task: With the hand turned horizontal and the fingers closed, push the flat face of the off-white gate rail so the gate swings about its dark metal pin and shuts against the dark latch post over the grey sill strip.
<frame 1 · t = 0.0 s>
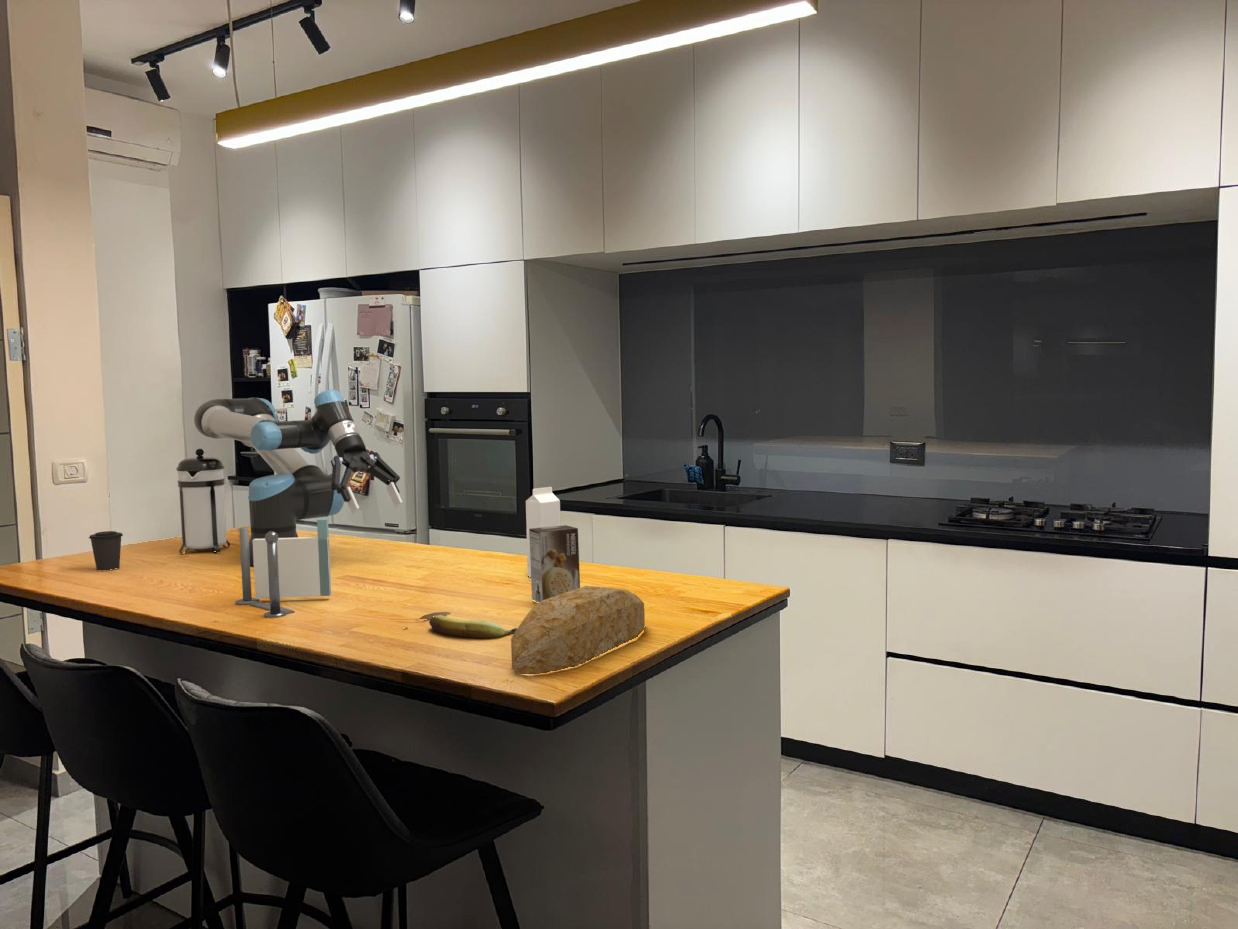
hand: (378, 508, 249), 15 cm above the countertop, tool tilted 35°, fingers open, 13 cm apart
milk: (544, 577, 232), on the countertop
gate: (285, 559, 210), point 9 cm above the countertop, hinge at 45.0°
sill: (247, 602, 210), on the countertop
bread: (584, 650, 169), on the countertop
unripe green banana: (469, 637, 181), on the countertop
coffee box: (555, 602, 206), on the countertop
latch post: (275, 615, 198), on the countertop
coffee cup: (108, 569, 252), on the countertop
coffee press: (205, 550, 279), on the countertop
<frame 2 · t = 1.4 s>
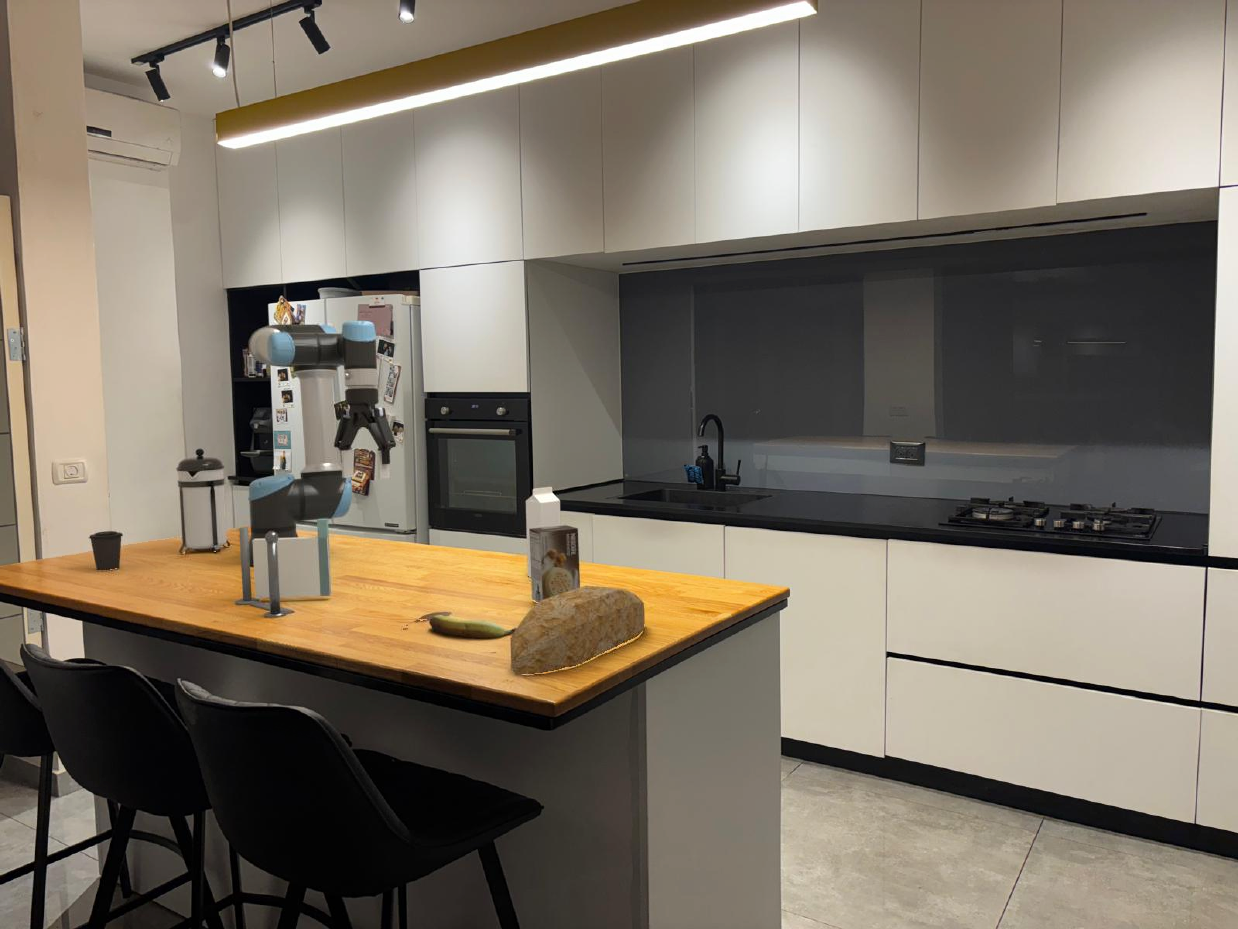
hand: (365, 478, 224), 26 cm above the countertop, tool pointing down, fingers open, 13 cm apart
nothing on the countertop moved.
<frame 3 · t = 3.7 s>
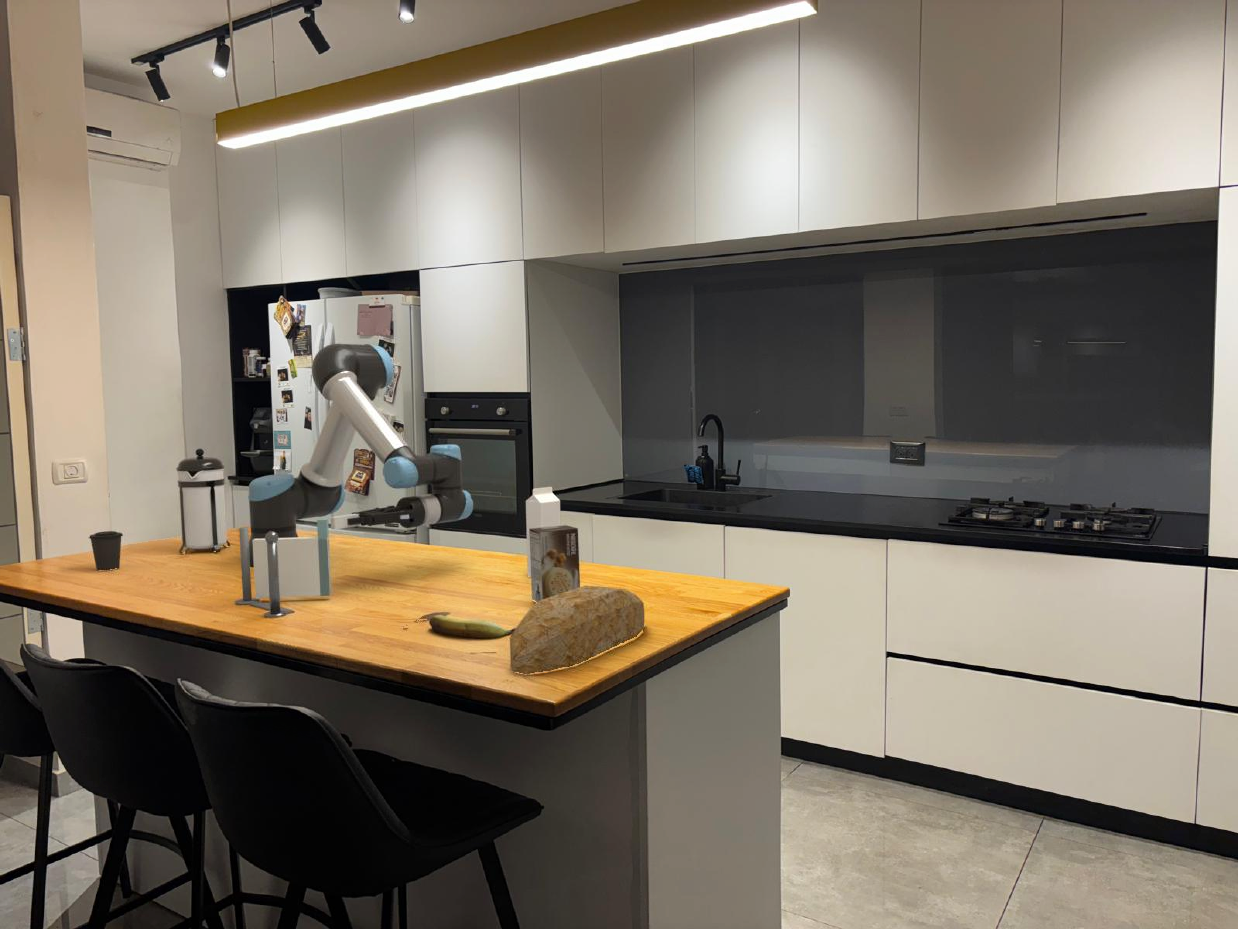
hand: (332, 523, 214), 16 cm above the countertop, tool horizontal, fingers closed
nothing on the countertop moved.
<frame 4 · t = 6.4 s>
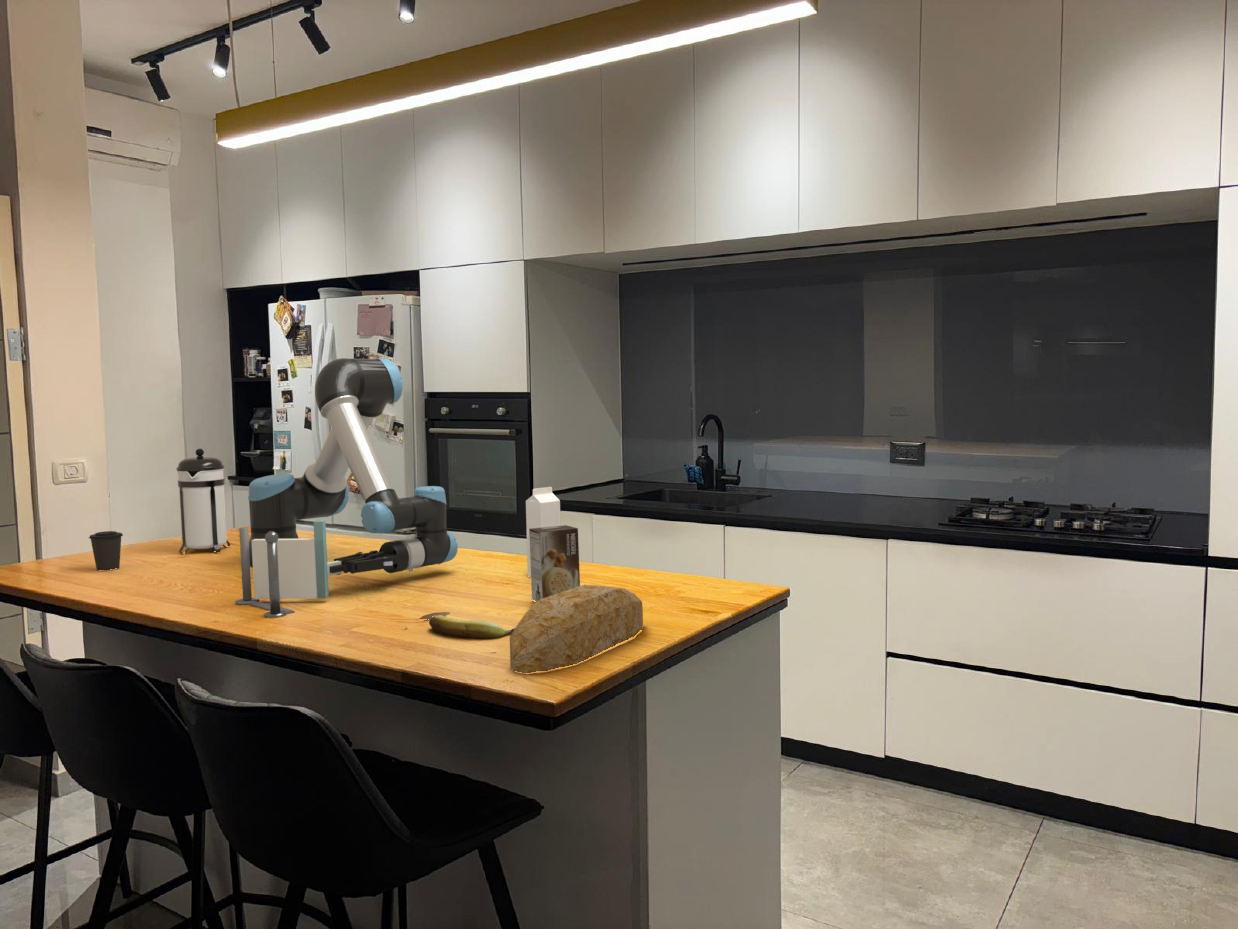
hand: (314, 571, 210), 6 cm above the countertop, tool horizontal, fingers closed
gate: (283, 560, 209), point 9 cm above the countertop, hinge at 37.1°
everything else where it was.
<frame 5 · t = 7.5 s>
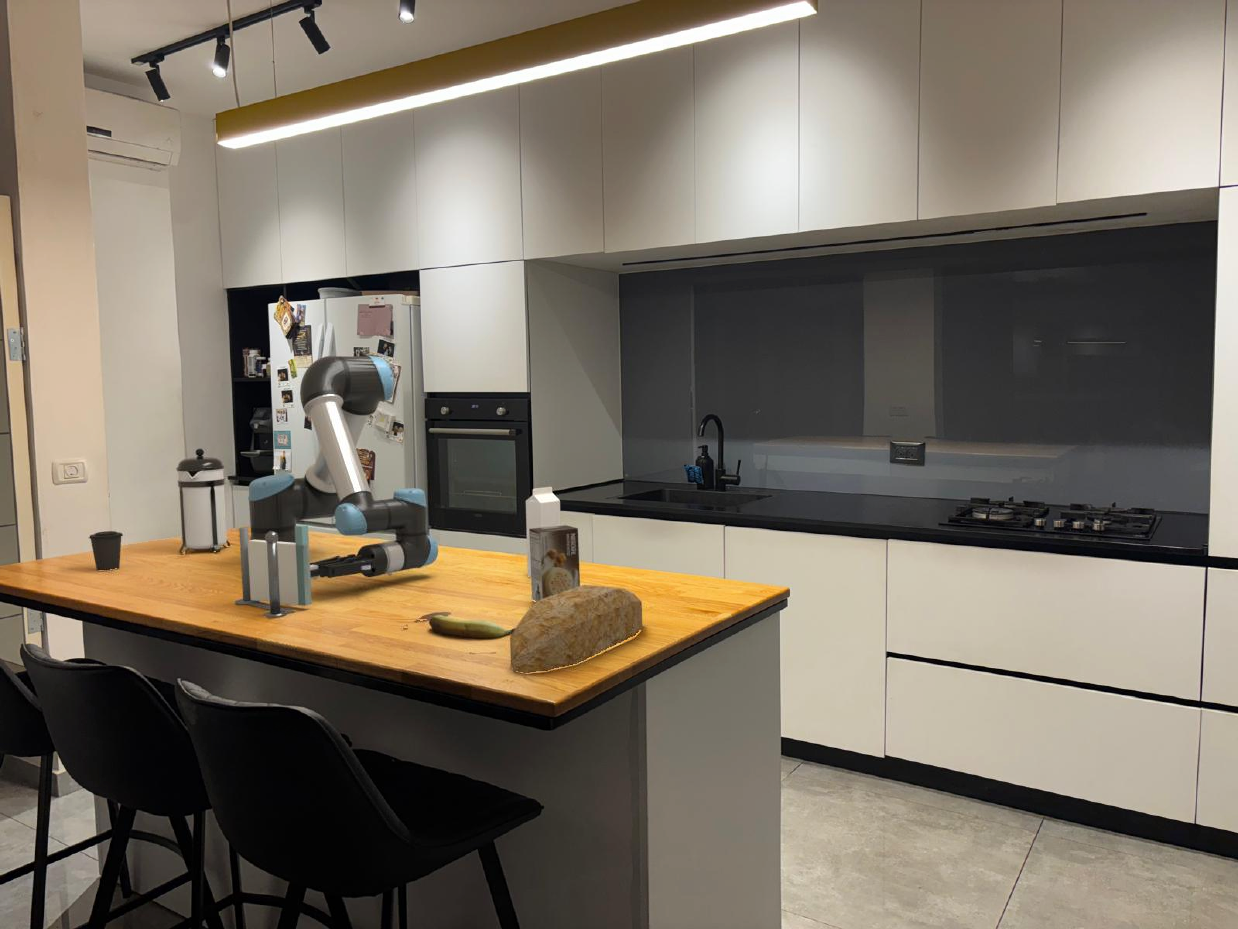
hand: (289, 576, 205), 7 cm above the countertop, tool horizontal, fingers closed
gate: (273, 563, 205), point 9 cm above the countertop, hinge at 13.7°, touching gripper
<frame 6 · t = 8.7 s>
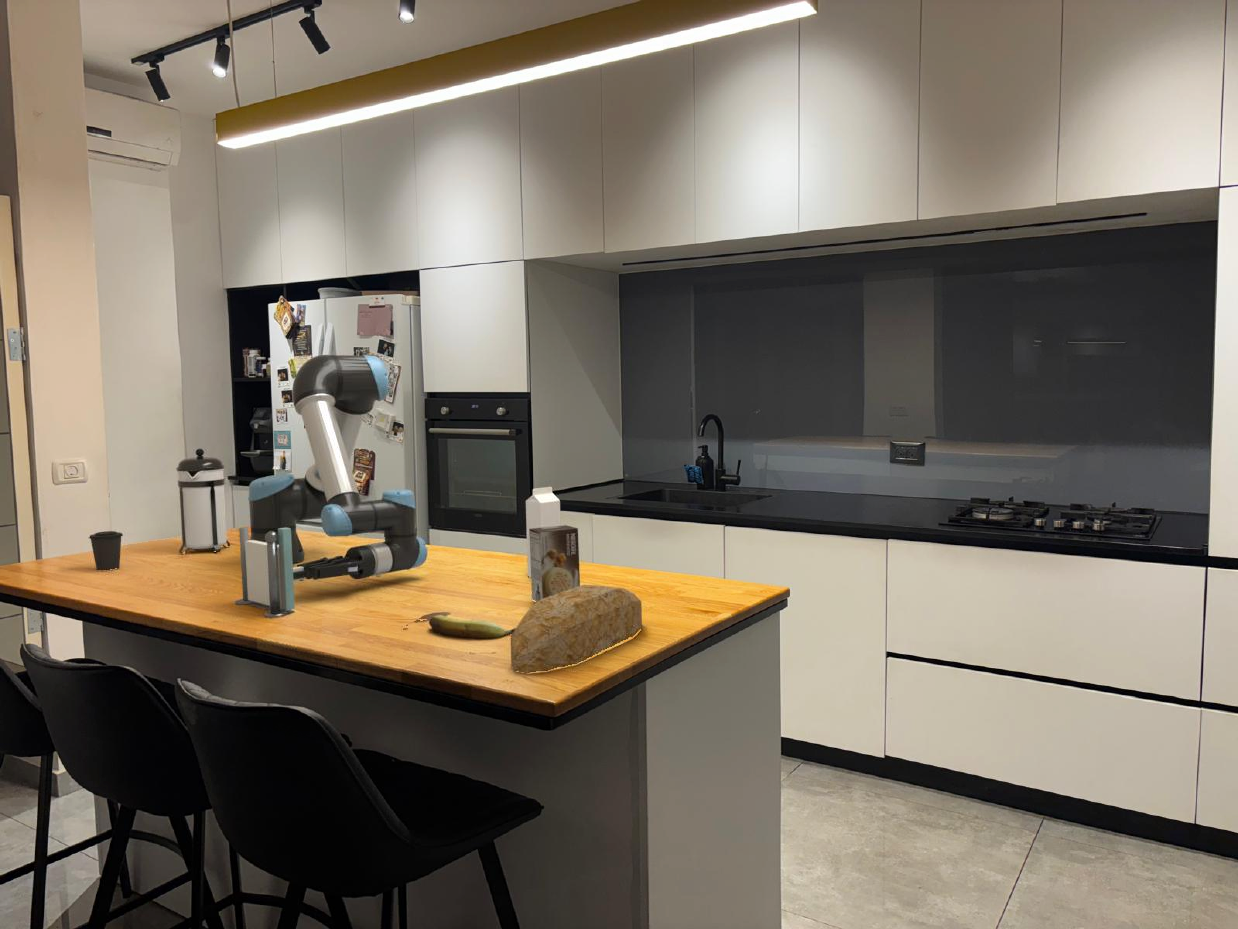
hand: (275, 577, 203), 7 cm above the countertop, tool horizontal, fingers closed
gate: (265, 565, 203), point 9 cm above the countertop, hinge at -0.7°, touching gripper
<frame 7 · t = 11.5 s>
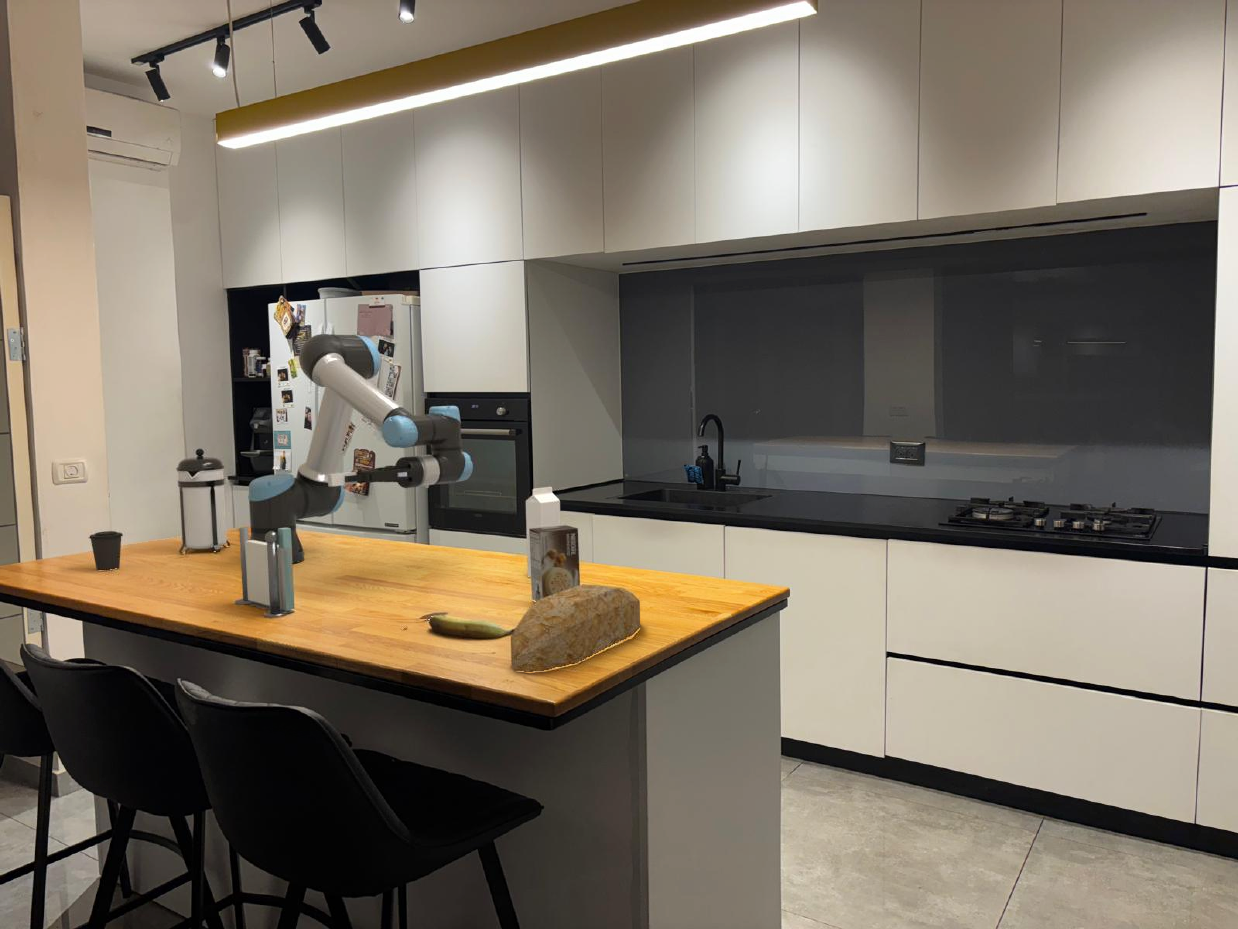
hand: (330, 480, 214), 26 cm above the countertop, tool horizontal, fingers closed
gate: (265, 565, 203), point 9 cm above the countertop, hinge at -0.8°
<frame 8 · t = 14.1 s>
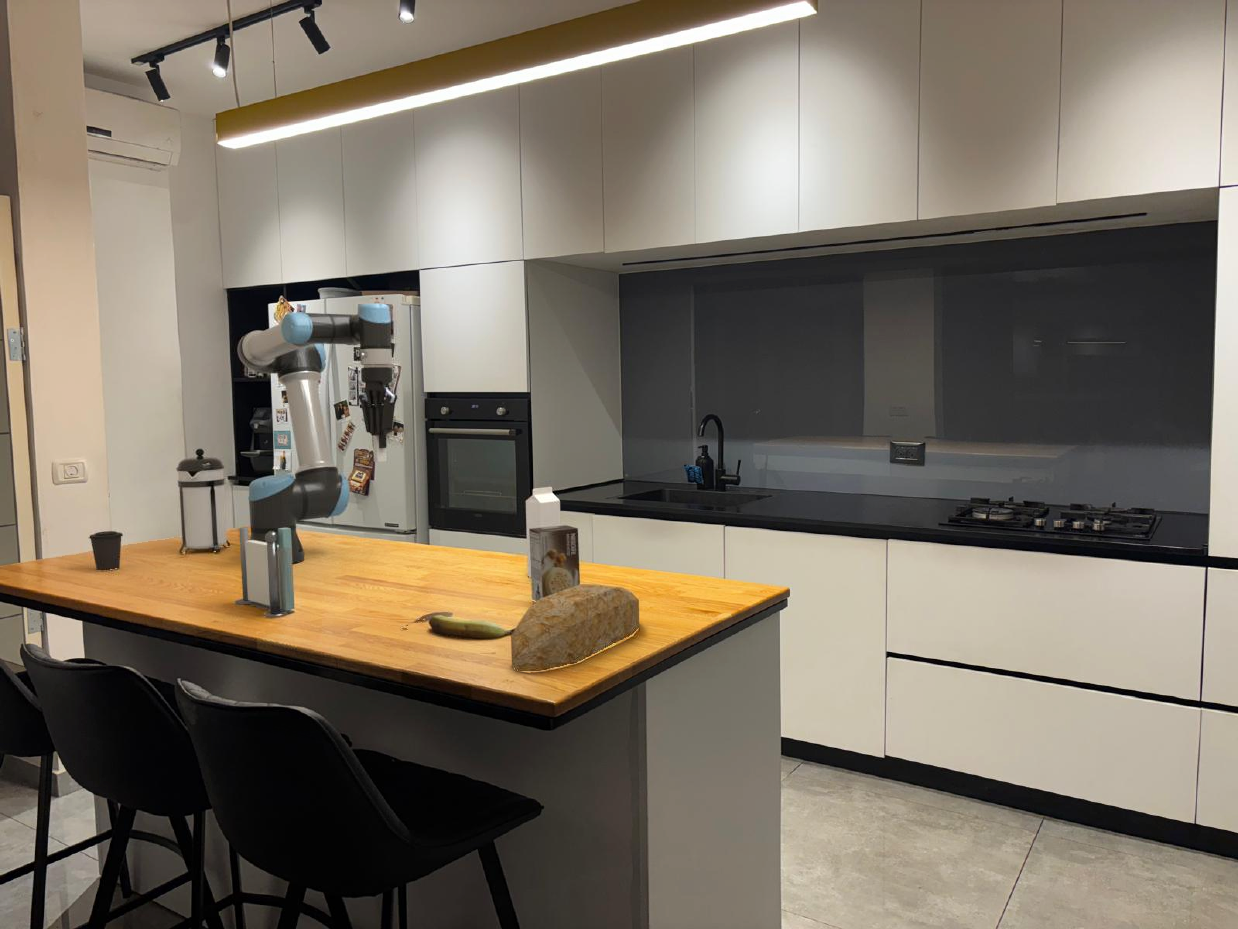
hand: (380, 461, 238), 28 cm above the countertop, tool pointing down, fingers closed
at the end: gate at -1° (first picture: +45°) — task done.
